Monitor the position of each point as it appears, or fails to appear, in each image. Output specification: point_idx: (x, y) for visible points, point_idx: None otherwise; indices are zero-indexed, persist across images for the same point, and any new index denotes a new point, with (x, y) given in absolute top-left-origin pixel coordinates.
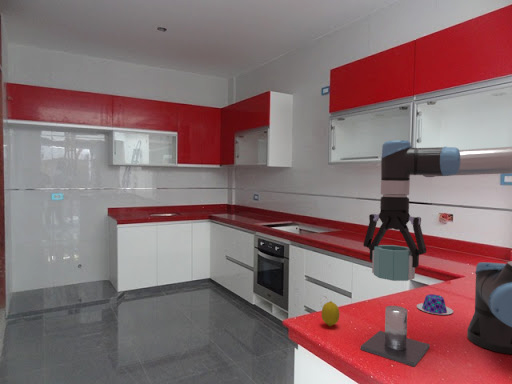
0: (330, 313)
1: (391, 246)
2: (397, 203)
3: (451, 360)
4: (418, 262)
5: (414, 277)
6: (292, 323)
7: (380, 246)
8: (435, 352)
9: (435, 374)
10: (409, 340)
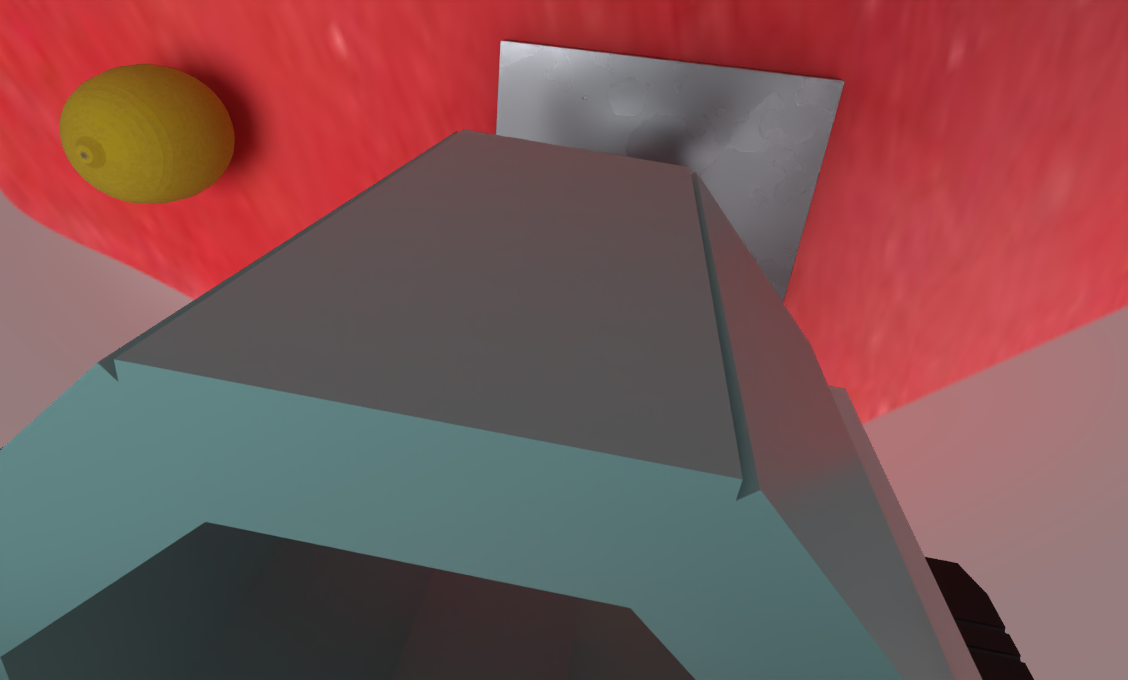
0: (176, 199)
1: (184, 530)
2: None
3: (958, 190)
4: (1007, 654)
5: (845, 400)
6: (45, 214)
7: None
8: (872, 129)
9: (854, 388)
10: (712, 99)
